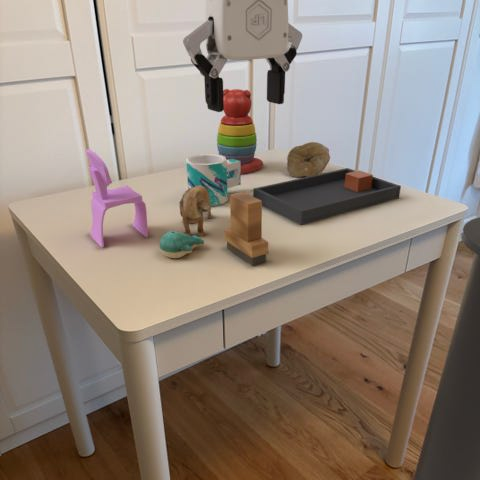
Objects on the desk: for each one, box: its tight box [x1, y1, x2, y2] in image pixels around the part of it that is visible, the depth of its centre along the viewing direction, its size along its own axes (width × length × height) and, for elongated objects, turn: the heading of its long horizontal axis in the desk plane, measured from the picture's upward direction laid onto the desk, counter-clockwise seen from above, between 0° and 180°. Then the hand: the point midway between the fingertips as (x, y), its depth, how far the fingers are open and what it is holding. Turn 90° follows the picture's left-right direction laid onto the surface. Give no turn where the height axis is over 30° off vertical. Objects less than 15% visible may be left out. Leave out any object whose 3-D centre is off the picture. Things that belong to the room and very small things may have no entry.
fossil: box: [286, 141, 331, 178], centre depth 115 cm, size 9×4×10 cm
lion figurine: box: [179, 185, 213, 237], centre depth 87 cm, size 15×5×9 cm, turn 3°
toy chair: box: [85, 148, 149, 249], centre depth 82 cm, size 8×9×15 cm
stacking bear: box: [216, 88, 264, 175], centre depth 115 cm, size 11×10×18 cm
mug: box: [185, 153, 242, 208], centre depth 101 cm, size 8×12×8 cm
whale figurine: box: [159, 230, 205, 259], centre depth 80 cm, size 6×7×4 cm
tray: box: [252, 167, 402, 226], centre depth 100 cm, size 26×16×3 cm, turn 123°
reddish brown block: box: [344, 170, 374, 192], centre depth 104 cm, size 4×4×3 cm
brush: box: [224, 191, 269, 267], centre depth 77 cm, size 8×3×10 cm, turn 33°
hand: (246, 106), depth 67 cm, fingers open, 9 cm apart
